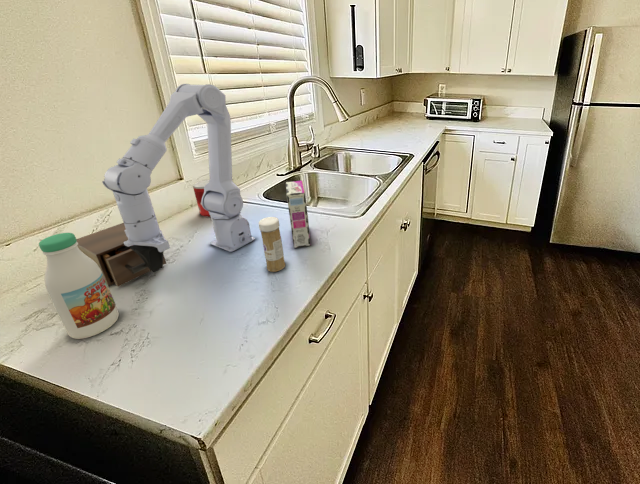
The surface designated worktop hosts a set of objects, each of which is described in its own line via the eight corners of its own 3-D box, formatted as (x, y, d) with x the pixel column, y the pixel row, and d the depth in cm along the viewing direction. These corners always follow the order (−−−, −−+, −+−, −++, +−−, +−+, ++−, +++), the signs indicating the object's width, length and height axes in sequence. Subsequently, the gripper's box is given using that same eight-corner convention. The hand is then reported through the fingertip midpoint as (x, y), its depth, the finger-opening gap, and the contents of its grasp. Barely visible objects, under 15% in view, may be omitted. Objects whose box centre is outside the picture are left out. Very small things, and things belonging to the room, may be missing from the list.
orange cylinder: (135, 258, 84) (129, 240, 82) (143, 262, 82) (137, 244, 80) (117, 266, 81) (109, 247, 79) (125, 271, 79) (118, 251, 77)
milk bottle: (62, 346, 60) (14, 254, 53) (77, 319, 67) (36, 233, 60) (114, 331, 64) (76, 242, 56) (124, 306, 70) (91, 224, 63)
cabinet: (162, 261, 86) (152, 232, 83) (108, 286, 77) (96, 254, 73) (136, 248, 92) (126, 221, 89) (84, 270, 83) (71, 240, 79)
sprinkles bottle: (263, 269, 82) (254, 221, 77) (277, 260, 86) (269, 214, 81) (275, 274, 80) (266, 226, 75) (289, 265, 84) (282, 218, 79)
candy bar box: (312, 245, 93) (305, 192, 87) (293, 249, 91) (285, 195, 85) (308, 228, 102) (302, 179, 96) (292, 231, 101) (284, 181, 95)
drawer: (175, 267, 82) (168, 243, 79) (127, 292, 73) (117, 265, 71) (141, 251, 89) (133, 228, 87) (93, 271, 81) (83, 247, 78)
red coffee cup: (214, 218, 110) (207, 187, 106) (194, 216, 111) (186, 186, 107) (230, 208, 117) (223, 179, 113) (211, 206, 118) (204, 178, 114)
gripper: (102, 218, 72) (121, 269, 77) (136, 233, 66) (155, 288, 71) (138, 206, 78) (154, 255, 83) (172, 218, 71) (187, 270, 76)
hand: (156, 269), depth 77 cm, fingers closed
